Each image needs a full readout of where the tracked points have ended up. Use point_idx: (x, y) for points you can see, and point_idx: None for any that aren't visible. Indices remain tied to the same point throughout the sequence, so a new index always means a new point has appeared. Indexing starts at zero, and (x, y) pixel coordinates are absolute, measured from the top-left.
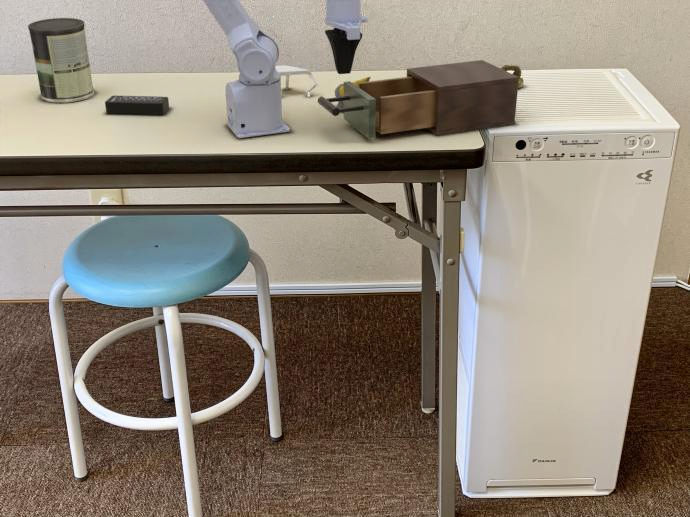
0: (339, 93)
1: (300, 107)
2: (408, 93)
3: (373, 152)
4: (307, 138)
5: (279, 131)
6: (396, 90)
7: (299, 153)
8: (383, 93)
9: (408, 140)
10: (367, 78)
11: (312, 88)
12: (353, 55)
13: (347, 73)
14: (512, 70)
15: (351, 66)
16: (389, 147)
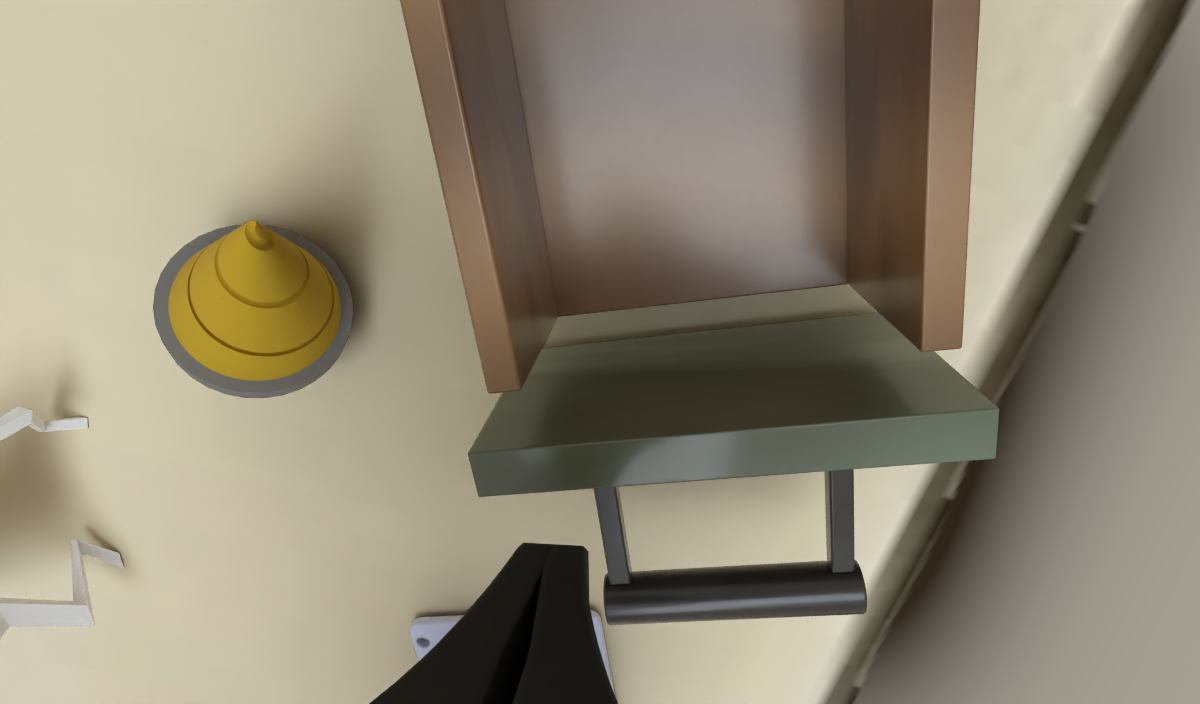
0: (282, 380)
1: (255, 494)
2: (937, 71)
3: (999, 347)
4: (692, 563)
5: (606, 653)
6: (481, 51)
7: (863, 630)
8: (507, 172)
9: None
10: (256, 242)
11: (39, 422)
12: (603, 665)
13: (588, 568)
14: None
15: (586, 582)
16: (968, 247)
